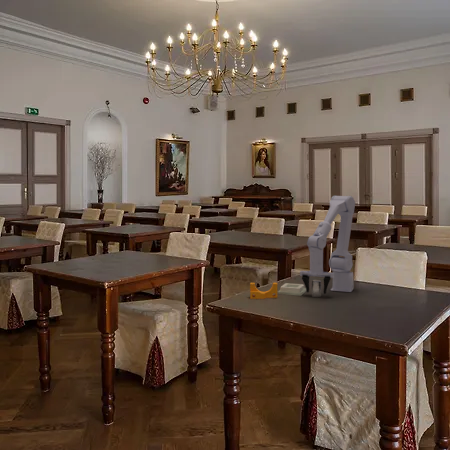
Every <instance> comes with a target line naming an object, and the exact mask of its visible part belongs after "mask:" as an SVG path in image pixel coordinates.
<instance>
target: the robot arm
mask: <svg viewBox="0 0 450 450" xmlns="http://www.w3.org/2000/svg"><path fill="white" fill-rule="evenodd" d="M355 206H356V200H355V198H354V197H353V196H352V195H332V197H331V198H330V200H329V208H328V210H327V213H326V215H325V217H324V220H323V221H320V222H319V223H318V225H317V227H316V229H315V230H314V232H313V234H312V235H310V236H309V237H308V239H307V241H306V245H307V247H308V251H309V270H300V271H299V276H300V277H301V280H302V282H303V284H304V288H306V293H309V292H310V277H315V278H317V277H319V278H323V294H324V295H325V294H327V290H328V286H329V283H330V281H331V280H332V287H331V288H330V291H332V292H333V291H334V292H346V293H352V292H353V290H354V288H355V287H354V272H353V271H351V270H352V268H353V265H354V264H353V255H352V253H351V252H349V245H350V237H351V230H352V224H353V217H354V216H353V215H354V214H355V209H356V208H355ZM338 215H339V216H340V221H339V226H338V227H339V228H338V235H337V242H336V249H335V250H334V251H332V252H331V253H330V258H329V260H328V265H329V268H330V269H331V270H330V271H332V272H328V271H324V248H325V247H326V246H327V240H328V238H327V237H328V236H329V234H330V232H331V230H332V223H333V221H335V219H336V218H337V216H338Z"/></svg>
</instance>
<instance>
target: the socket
mask: <svg viewBox="0 0 450 450" xmlns="http://www.w3.org/2000/svg"><path fill="white" fill-rule="evenodd" d="M305 293H307V291H306V287H305V284H304V283H303V284H302V283H287V282H285V283H284V284H282V285H281V286H280V289H279V290H278V295H287V296H298V297H299V296H300V297H301V296H303V295H304V294H305Z"/></svg>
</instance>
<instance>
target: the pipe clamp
mask: <svg viewBox="0 0 450 450" xmlns="http://www.w3.org/2000/svg"><path fill="white" fill-rule="evenodd" d="M278 291H279V290H278V282H272V286H271V287H270V289H268V290H266V291H261V290H259V289H258V288H257V286H256V283H255V282H250V283H249V296H250V300H265V299H278V296H279V294H278Z"/></svg>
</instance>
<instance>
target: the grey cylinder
mask: <svg viewBox="0 0 450 450" xmlns="http://www.w3.org/2000/svg"><path fill="white" fill-rule="evenodd" d="M311 297H313V298H321V297H322V281H321V280H320V279H313V280H311Z"/></svg>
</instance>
